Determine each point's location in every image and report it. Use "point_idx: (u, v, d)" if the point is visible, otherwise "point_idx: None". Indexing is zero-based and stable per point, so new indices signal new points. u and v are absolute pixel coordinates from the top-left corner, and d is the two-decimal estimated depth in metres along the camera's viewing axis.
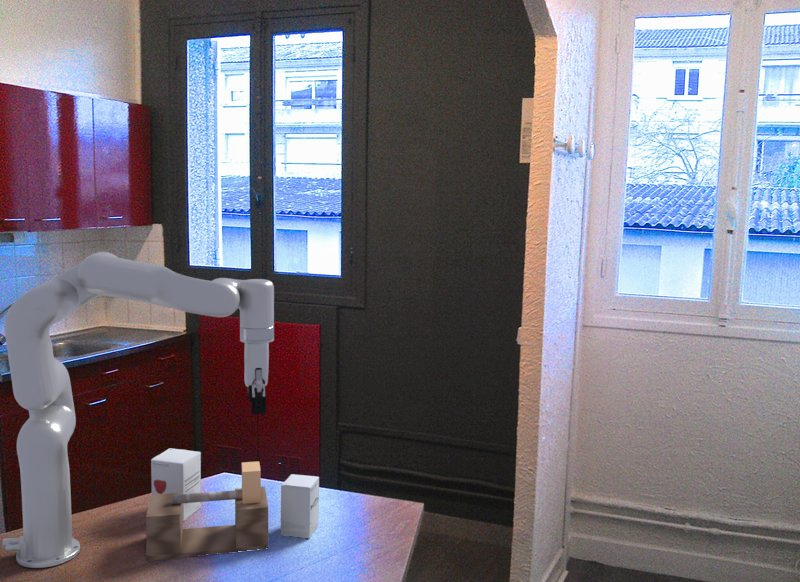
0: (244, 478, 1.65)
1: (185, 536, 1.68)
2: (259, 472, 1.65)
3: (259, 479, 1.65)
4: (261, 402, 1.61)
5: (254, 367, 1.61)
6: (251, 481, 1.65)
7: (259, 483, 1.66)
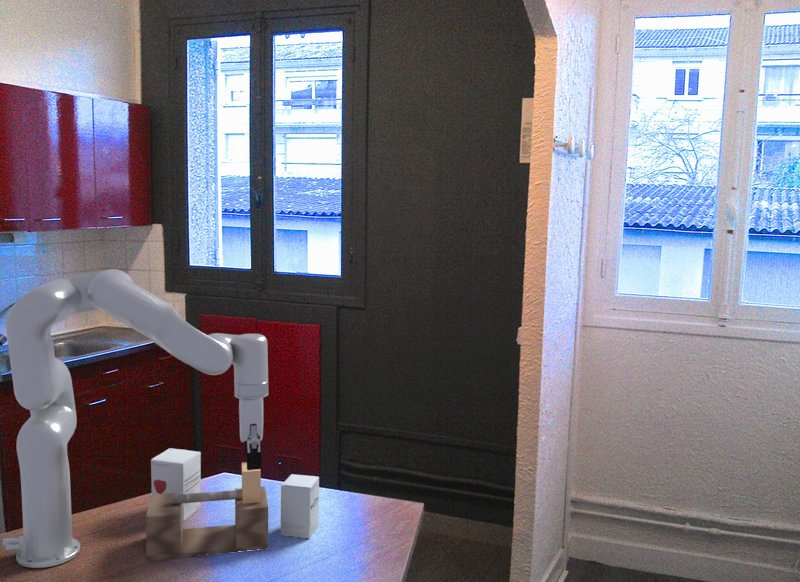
0: (244, 478, 1.65)
1: (185, 536, 1.68)
2: (259, 472, 1.65)
3: (259, 479, 1.65)
4: (256, 458, 1.62)
5: (249, 423, 1.61)
6: (251, 481, 1.65)
7: (259, 483, 1.66)
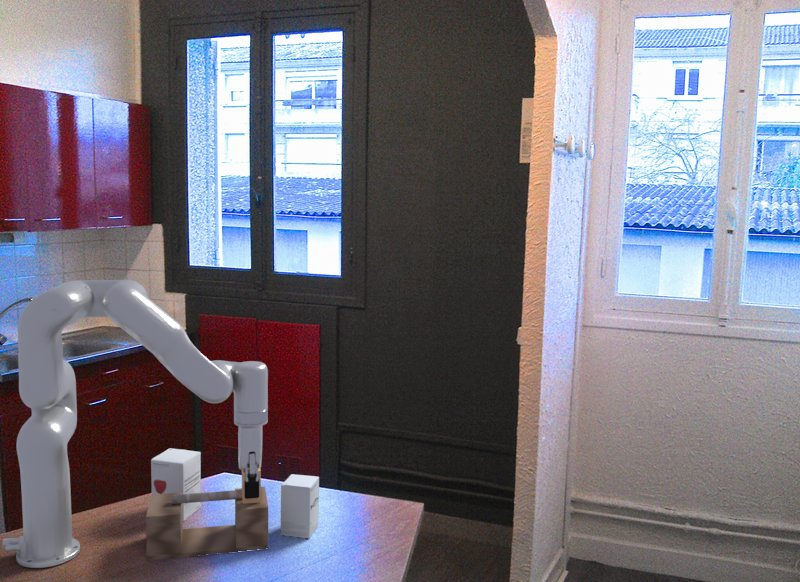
0: (244, 478, 1.65)
1: (185, 536, 1.68)
2: (259, 472, 1.65)
3: (259, 479, 1.65)
4: (254, 487, 1.64)
5: (248, 451, 1.62)
6: None
7: (259, 483, 1.66)
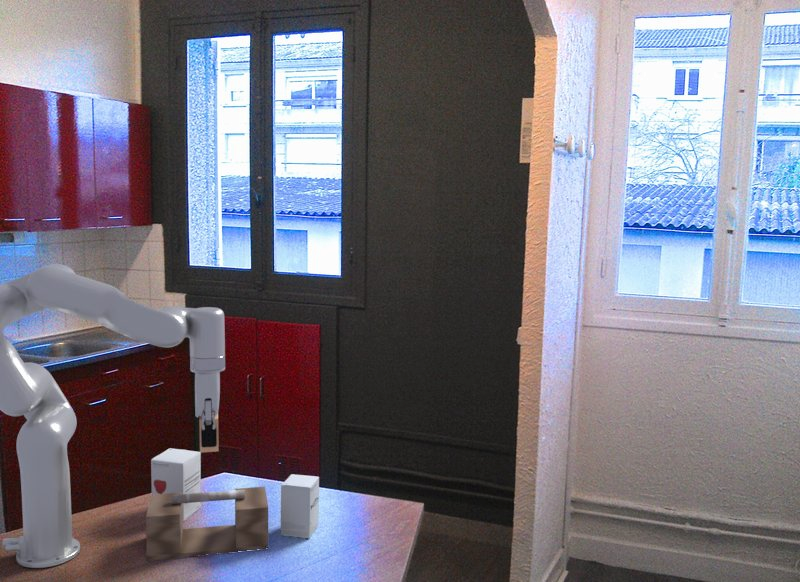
0: (201, 426, 1.61)
1: (185, 536, 1.68)
2: (216, 420, 1.61)
3: (217, 427, 1.62)
4: (211, 435, 1.60)
5: (203, 398, 1.58)
6: None
7: (217, 431, 1.62)
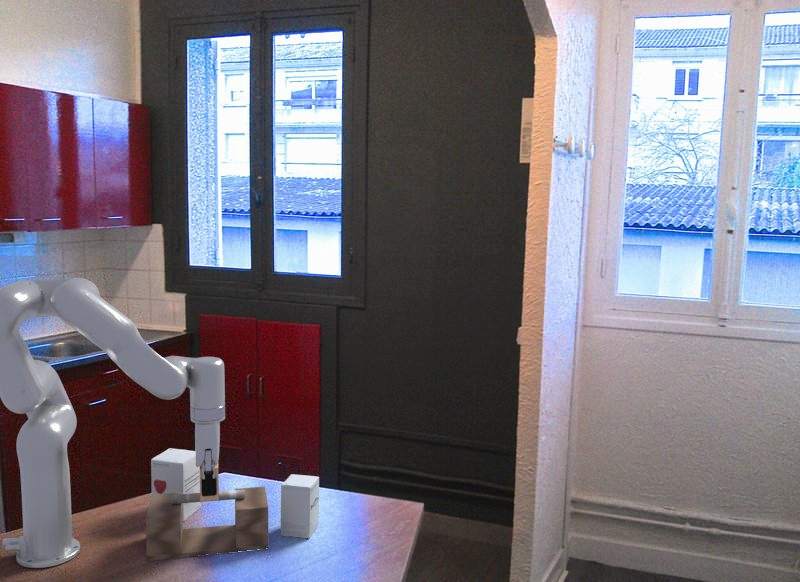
0: (201, 475, 1.62)
1: (185, 536, 1.68)
2: (217, 469, 1.63)
3: (217, 476, 1.63)
4: (211, 484, 1.62)
5: (204, 448, 1.59)
6: None
7: (217, 480, 1.63)
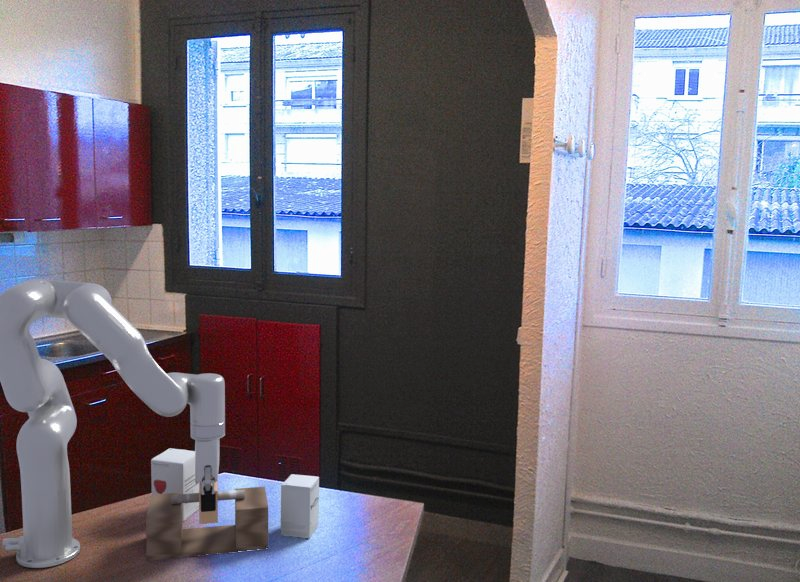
0: None
1: (185, 536, 1.68)
2: (216, 492, 1.63)
3: (216, 499, 1.64)
4: (210, 500, 1.61)
5: (203, 465, 1.60)
6: None
7: (216, 503, 1.64)
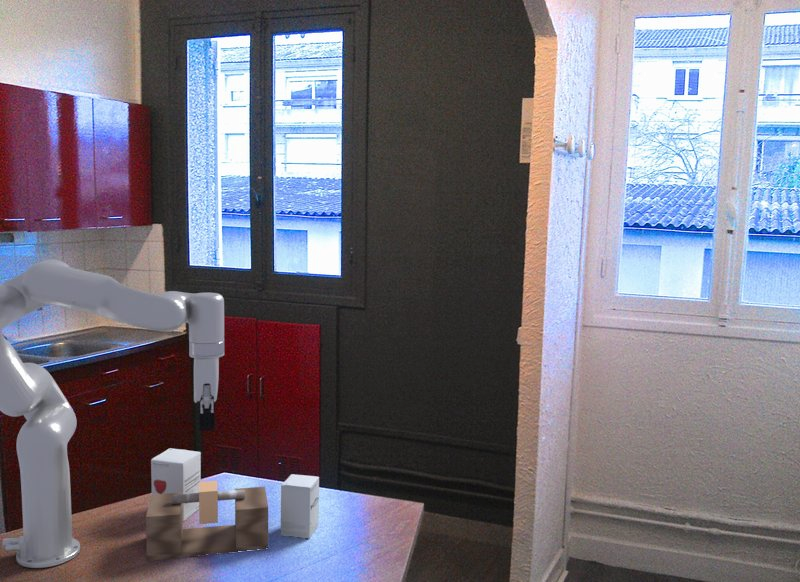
0: (201, 498, 1.63)
1: (185, 536, 1.68)
2: (216, 492, 1.63)
3: (216, 499, 1.64)
4: (209, 418, 1.58)
5: (202, 383, 1.58)
6: (207, 501, 1.63)
7: (216, 503, 1.64)
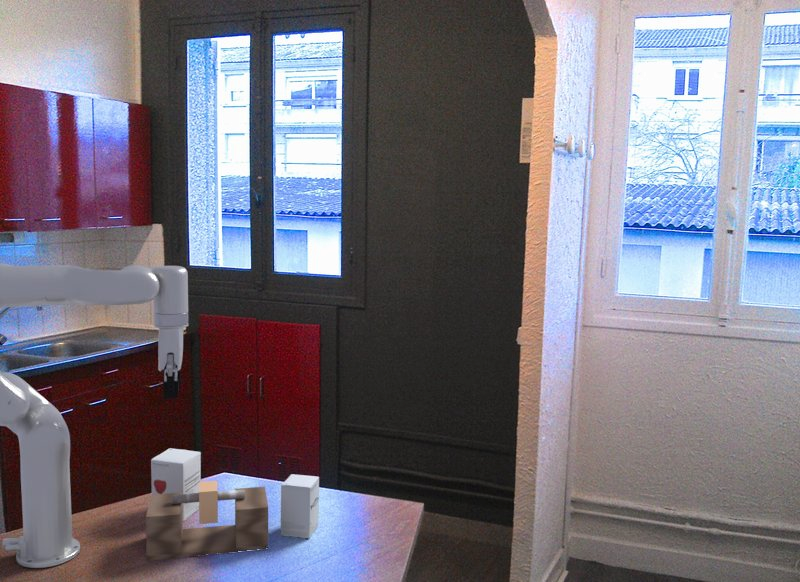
0: (201, 498, 1.63)
1: (185, 536, 1.68)
2: (216, 492, 1.63)
3: (216, 499, 1.64)
4: (173, 386, 1.64)
5: (166, 352, 1.64)
6: (207, 501, 1.63)
7: (216, 503, 1.64)
